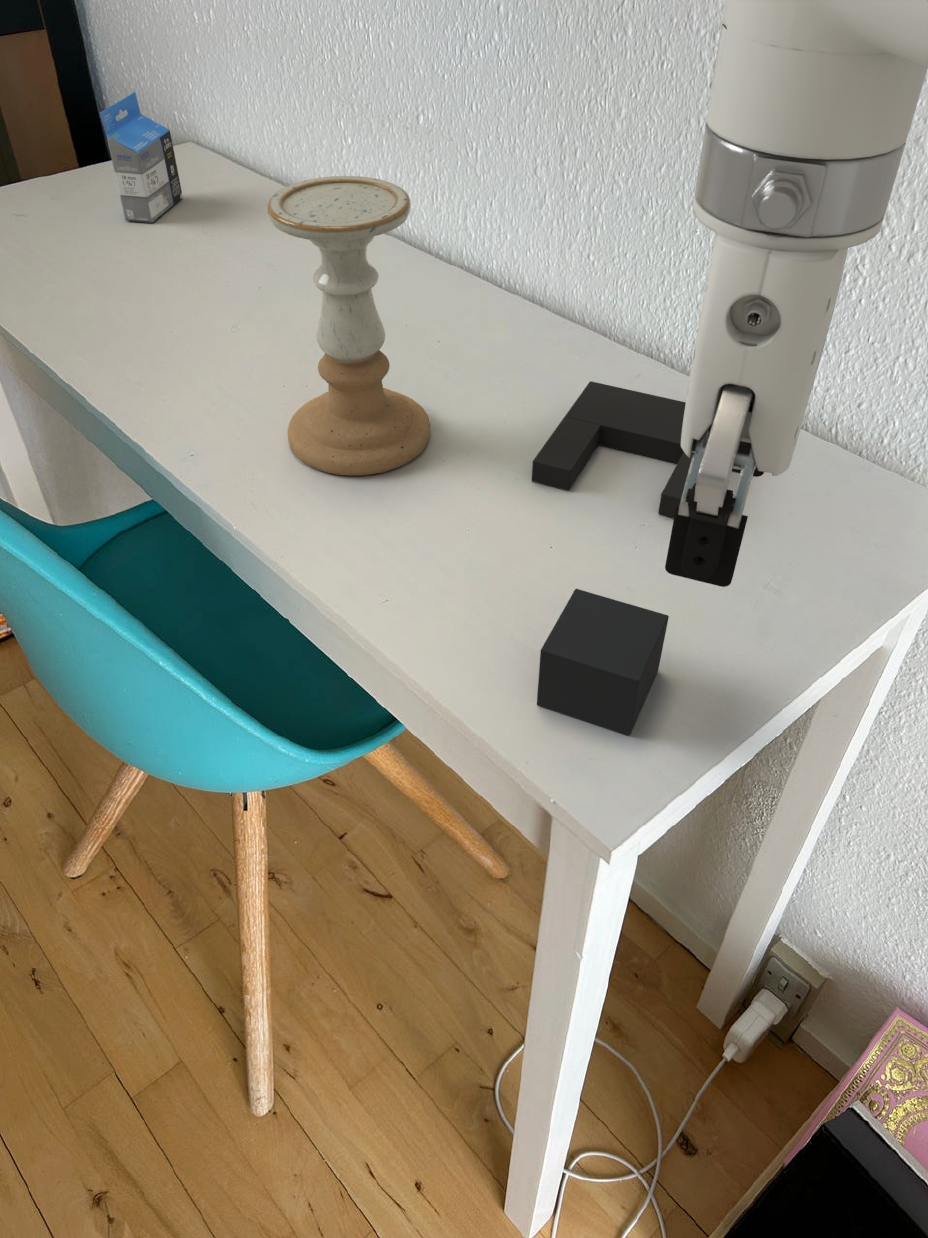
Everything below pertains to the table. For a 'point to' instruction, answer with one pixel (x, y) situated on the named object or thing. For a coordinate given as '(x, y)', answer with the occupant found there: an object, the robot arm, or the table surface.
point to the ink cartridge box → (141, 162)
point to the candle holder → (350, 329)
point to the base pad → (616, 437)
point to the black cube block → (601, 661)
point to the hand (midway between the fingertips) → (717, 519)
